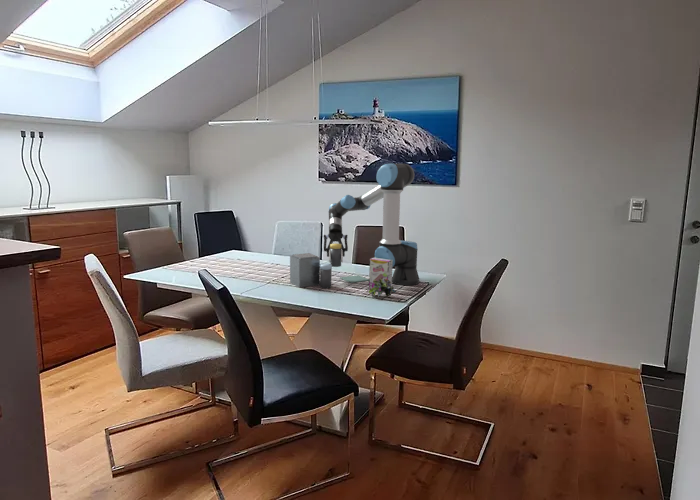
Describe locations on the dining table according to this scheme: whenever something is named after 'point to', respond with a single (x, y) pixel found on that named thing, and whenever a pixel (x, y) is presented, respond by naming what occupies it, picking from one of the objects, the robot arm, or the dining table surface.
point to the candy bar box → (380, 271)
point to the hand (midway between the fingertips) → (335, 260)
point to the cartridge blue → (325, 275)
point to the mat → (354, 279)
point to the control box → (304, 270)
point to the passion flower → (383, 285)
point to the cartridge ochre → (335, 255)
